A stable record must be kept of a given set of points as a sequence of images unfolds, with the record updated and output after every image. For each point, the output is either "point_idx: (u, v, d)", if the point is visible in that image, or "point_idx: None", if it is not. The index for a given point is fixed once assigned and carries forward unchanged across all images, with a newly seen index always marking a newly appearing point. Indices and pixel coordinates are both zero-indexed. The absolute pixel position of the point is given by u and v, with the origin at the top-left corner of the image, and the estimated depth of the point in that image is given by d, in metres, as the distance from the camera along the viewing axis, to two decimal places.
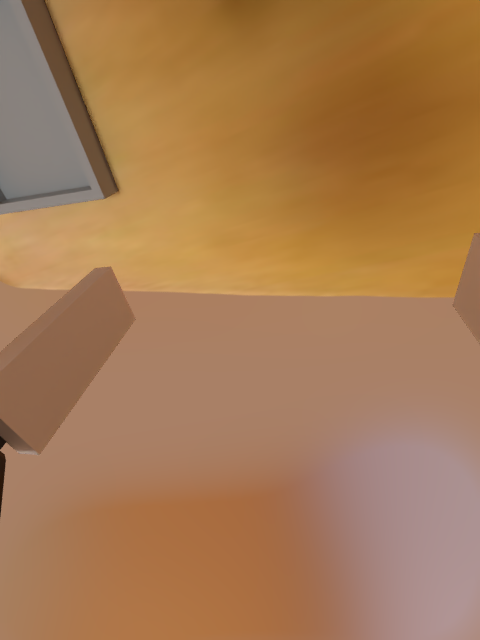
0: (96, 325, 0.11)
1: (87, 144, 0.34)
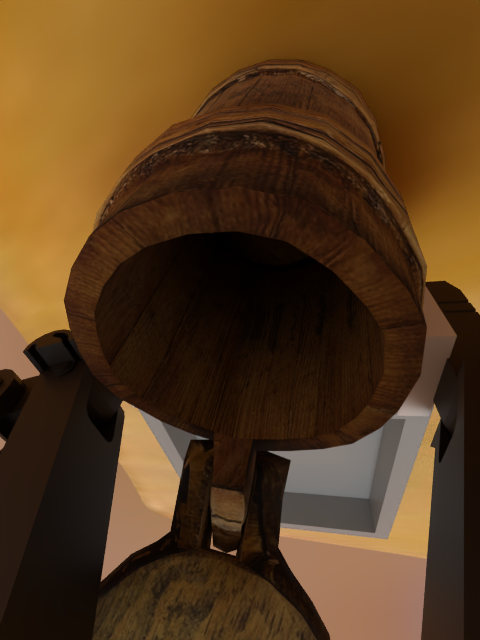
0: None
1: None
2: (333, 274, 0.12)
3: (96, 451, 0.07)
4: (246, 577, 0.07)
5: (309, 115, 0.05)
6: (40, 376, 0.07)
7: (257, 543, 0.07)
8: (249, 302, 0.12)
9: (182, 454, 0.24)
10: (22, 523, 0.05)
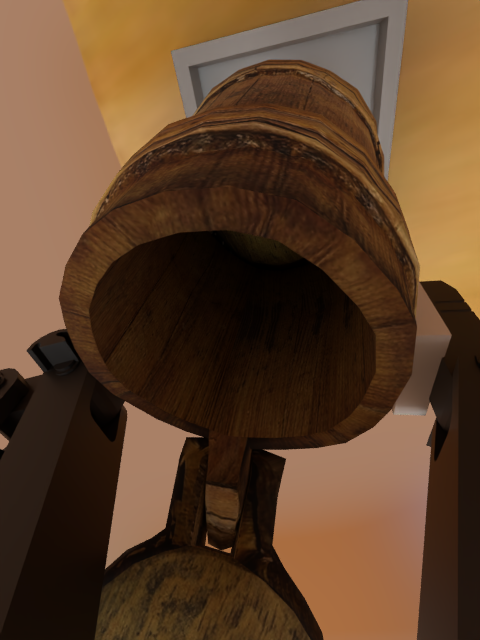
0: None
1: None
2: None
3: (99, 450, 0.07)
4: (239, 574, 0.07)
5: (303, 115, 0.05)
6: (43, 375, 0.07)
7: (251, 541, 0.07)
8: (247, 301, 0.12)
9: None
10: (26, 522, 0.05)
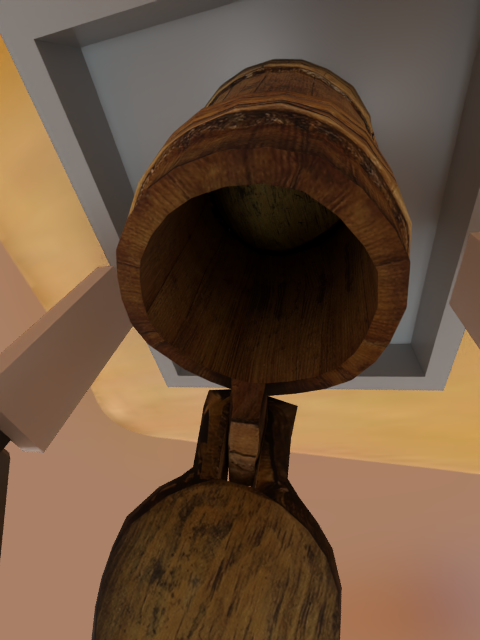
0: (99, 324, 0.11)
1: None
2: (331, 254, 0.13)
3: None
4: (260, 501, 0.08)
5: (316, 100, 0.06)
6: None
7: (269, 474, 0.08)
8: (255, 281, 0.13)
9: (112, 212, 0.15)
10: None
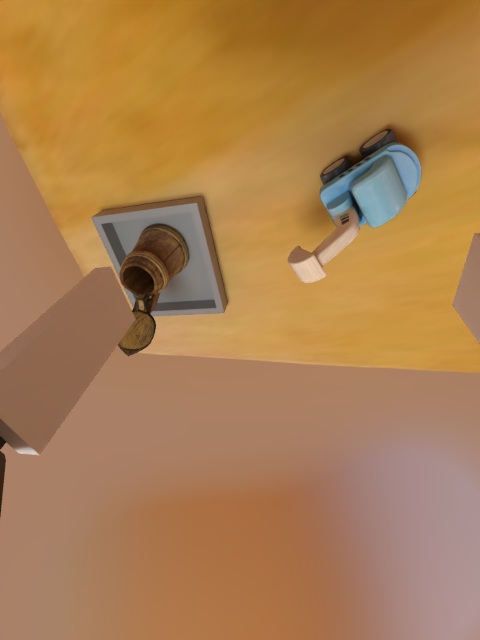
0: (96, 325, 0.11)
1: (219, 284, 0.53)
2: None
3: None
4: (143, 314, 0.45)
5: (146, 252, 0.43)
6: None
7: (145, 310, 0.45)
8: None
9: (117, 258, 0.52)
10: None
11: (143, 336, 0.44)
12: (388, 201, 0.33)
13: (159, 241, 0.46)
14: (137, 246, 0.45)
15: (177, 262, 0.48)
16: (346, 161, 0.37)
